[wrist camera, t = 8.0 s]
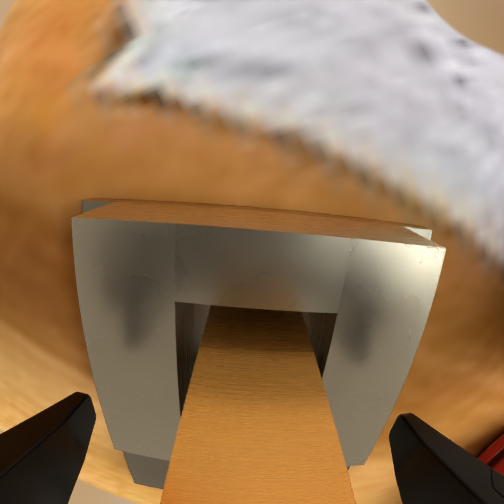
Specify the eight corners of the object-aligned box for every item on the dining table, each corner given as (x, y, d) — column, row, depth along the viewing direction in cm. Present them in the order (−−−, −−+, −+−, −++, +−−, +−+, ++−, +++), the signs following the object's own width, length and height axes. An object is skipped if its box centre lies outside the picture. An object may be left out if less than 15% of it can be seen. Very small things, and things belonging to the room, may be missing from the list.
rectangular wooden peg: (295, 291, 12) (358, 514, 3) (282, 374, 13) (304, 570, 4) (216, 285, 12) (158, 510, 3) (213, 369, 13) (182, 566, 4)
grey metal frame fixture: (433, 227, 12) (583, 305, 4) (337, 489, 17) (355, 580, 9) (91, 198, 12) (-73, 257, 4) (138, 477, 17) (112, 568, 9)
